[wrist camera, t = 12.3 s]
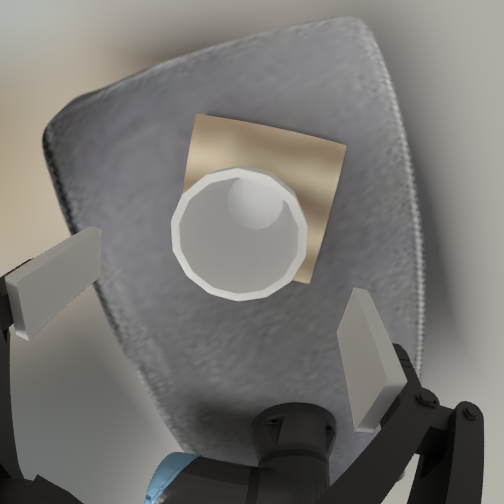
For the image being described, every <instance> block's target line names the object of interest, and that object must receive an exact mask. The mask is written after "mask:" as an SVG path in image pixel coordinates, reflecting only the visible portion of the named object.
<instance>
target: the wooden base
mask: <svg viewBox="0 0 504 504" xmlns="http://www.w3.org/2000/svg"><path fill="white" fill-rule="evenodd" d="M346 148H347V145H344V144H340V143H336V142H333V141H329V140H325V139H321V138H317V137H313V136H309V135H305V134H301V133H297V132H293V131H288V130H284V129H279V128H275V127H270V126H265V125H260V124H255V123H250V122H244V121H239V120H233V119H227V118H221V117H215V116H208V115H201V114H196V116H195V121H194V127H193V132H192V137H191V143H190V149H189V154H188V160H187V166H186V173H185V179H184V185H183V192H182V194H184V193H185V192H186V191H187V190H188V189H190V188H191V187H192V186H193V185H194V184H195V183H197V182H198V181H199V180H200V179H202V178H203V177H204V176H205V175H207V174H209V173H211V172H213V171H216V170H221V169H225V168H230V167H234V166H239V165H245V166H249V167H253V168H257V169H261V170H265V171H269V172H272V173H273V174H274V175H275V176H277V177H278V178H279V179H280V180H281V181H283V182H284V183H285V184H286V185H287V186H289V187H290V188H291V189H292V190H293V191H294V192H295V194H296V196H297V199H298V201H299V203H300V206H301V208H302V210H303V213H304V215H305V217H306V221H307V226H308V231H307V245H306V257H305V259H304V261H303V262H302V264H301V266H300V267H299V269H298V270H297V272H296V274H295V275H294V277H293V279H292V280H294V281H299V282H303V283H308V284H309V283H310V280H311V277H312V273H313V270H314V267H315V263H316V260H317V257H318V253H319V250H320V246H321V243H322V239H323V236H324V232H325V229H326V225H327V222H328V218H329V214H330V211H331V207H332V203H333V199H334V196H335V192H336V188H337V184H338V180H339V176H340V172H341V168H342V164H343V160H344V156H345V152H346Z"/></svg>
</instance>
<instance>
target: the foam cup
mask: <svg viewBox="0 0 504 504" xmlns="http://www.w3.org/2000/svg"><path fill="white" fill-rule="evenodd" d="M171 231H172V246H173V252H174V254H175V255H176V257H177V259H178V261H179V263H180V265H181V266H182V268H183V270H184V272H185V274H186V275H187V276H188V277H189V278H190V279H191V280H193V281H194V282H195V283H196V284H198V285H199V286H200V287H202V288H203V289H204V290H206V291H207V292H208V293H209V294H213V295H216V296H220V297H223V298H227V299H231V300H235V301H244V300H251V299H258V298H265V297H268V296H269V295H271V294H272V293H274V292H275V291H277V290H279V289H280V288H282V287H283V286H285V285H286V284H288V283H290V282H291V280H292V279H293V277H294V275H295V274H296V272H297V270H298V269H299V267H300V266H301V264H302V262H303V261H304V259H305V257H306V245H307V231H308V226H307V221H306V217H305V215H304V213H303V210H302V208H301V206H300V203H299V201H298V199H297V196H296V194H295V192H294V191H293V190H292V189H291V188H290V187H289V186H287V185H286V184H285V183H284V182H283V181H281V180H280V179H279V178H278V177H277V176H275V175H274V174H273V173H272V172H269V171H265V170H261V169H257V168H253V167H249V166H245V165H239V166H234V167H230V168H225V169H221V170H216V171H213V172H211V173H209V174H207V175H205V176H204V177H203V178H202V179H200V180H199V181H198V182H197V183H195V184H194V185H193V186H192V187H191V188H190V189H188V190H187V191H186V192H185V193H184V194H182V196H181V199H180V201H179V203H178V206H177V208H176V211H175V213H174V215H173V218H172V220H171Z"/></svg>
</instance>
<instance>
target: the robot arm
mask: <svg viewBox="0 0 504 504" xmlns="http://www.w3.org/2000/svg"><path fill="white" fill-rule="evenodd" d="M101 236H102V229H100V228H96V227H92V226H90V227H88V228H86V229H84V230H82V231H80V232H79V233H77V234H75V235H73V236H71V237H70V238H68V239H66V240H64V241H63V242H61V243H59V244H57V245H56V246H54V247H52V248H50V249H49V250H47V251H45V252H44V253H42V254H40V255H39V256H37V257H35V258H33V259H29V260H27V261H26V262H24V263H22V264H21V265H19V266H18V267H16V268H15V269H13V270H11V271H10V272H8V273H6V274H5V275H3V276H2V277H0V504H83V503H82V502H81V501H79V500H78V499H77V498H76V497H74V496H73V495H72V494H71V493H69V492H68V491H66V490H64V489H62V488H60V487H59V486H57V485H55V484H53V483H51V482H49V481H48V480H46V479H44V478H43V477H41V476H39V475H37V476H36V478H35V479H34V481H32V480H27V479H24V477H23V475H22V472H21V470H20V468H19V464H18V459H17V452H16V446H15V439H14V431H13V421H12V412H11V411H12V410H11V396H10V364H9V363H10V331H9V327H10V326H11V325H12V324H13V323H14V327H15V331H16V335H18V336H20V337H22V338H24V339H26V340H28V341H29V340H30V339H31V338H32V337H33V336H34V335H35V334H36V333H38V332H39V331H40V330H41V329H42V328H43V327H44V326H45V325H46V324H47V323H48V322H49V321H50V320H51V319H53V318H54V317H55V316H56V315H57V314H58V313H59V312H60V311H61V310H62V309H63V308H65V307H66V306H67V305H68V304H69V303H70V302H71V301H72V300H73V299H75V298H76V297H77V296H78V295H79V294H80V293H81V292H83V291H84V290H85V289H86V288H87V287H88V286H90V285H91V284H92V283H93V282H94V281H95V280H97V279H98V278H99V277H100V276H101ZM336 334H337V338H338V343H339V348H340V353H341V358H342V363H343V368H344V374H345V379H346V384H347V390H348V395H349V401H350V407H351V413H352V419H353V425H354V431H357V432H373V431H374V430H375V429H376V427H377V426H378V424H379V423H380V425H381V430H380V432H379V433H378V434H377V435H376V437H375V438H374V439H373V440H372V442H371V443H370V444H369V445H368V446H367V447H366V449H365V450H364V451H363V452H362V453H361V454H360V456H359V457H358V458H357V459H356V460H355V461H354V462H353V463H352V465H351V466H350V467H349V468H348V469H347V470H346V471H345V472H344V473H343V474H342V475H341V476H340V477H339V478H338V479H337V480H336V481H335V483H334V484H333V485H332V486H331V487H330V476H329V457H330V454H331V451H332V448H333V445H334V442H335V439H336V423H335V420H334V418H333V416H332V415H331V414H330V413H329V412H327V411H326V410H324V409H322V408H320V407H317V406H314V405H310V404H302V403H291V404H283V405H278V406H275V407H272V408H269V409H267V410H265V411H264V412H262V413H261V414H260V415H259V416H258V417H257V418H256V419H255V421H254V423H253V429H252V440H253V444H254V447H255V451H256V454H257V458H258V467H254V466H248V465H242V464H236V463H230V462H225V461H220V460H215V459H210V458H206V457H202V456H201V455H192V454H187V453H182V452H174V453H171V454H169V455H167V456H166V457H165V458H164V459H163V461H162V462H161V463H160V465H159V466H158V468H157V469H156V471H155V473H154V475H153V477H152V479H151V482H150V484H149V486H148V489H147V495H146V498H145V501H144V504H381V503H382V501H383V500H384V498H385V497H386V496H387V494H388V493H389V491H390V490H391V489H392V487H393V486H394V484H395V483H396V481H397V480H398V478H399V477H400V475H401V474H402V472H403V471H404V469H405V468H406V466H407V465H408V463H409V461H410V460H411V458H412V456H413V455H414V453H415V454H419V455H420V457H419V461H418V465H417V469H416V474H415V477H414V481H413V485H412V488H411V491H410V495H409V498H408V501H407V504H481V497H482V487H483V470H484V418H483V414H482V412H481V411H480V409H479V408H478V407H477V406H476V405H475V404H472V403H471V402H467V401H462V402H460V403H459V404H458V405H457V406H456V407H455V409H450V408H447V407H444V406H441V405H439V404H440V403H439V400H438V398H437V397H436V396H435V394H434V393H432V392H431V391H430V390H428V389H425V388H422V386H421V384H420V382H419V379H418V377H417V375H416V372H415V370H414V368H413V366H412V363H411V362H410V359H409V357H408V354H407V352H406V351H405V350H404V349H403V348H402V347H401V346H400V345H399V344H394V343H391V340H390V338H389V336H388V333H387V331H386V329H385V327H384V324H383V322H382V320H381V318H380V315H379V313H378V311H377V309H376V307H375V304H374V302H373V300H372V298H371V296H370V294H369V292H368V290H365V289H360V288H356V287H354V288H353V291H352V293H351V296H350V299H349V301H348V304H347V307H346V309H345V312H344V314H343V317H342V320H341V322H340V325H339V327H338V330H337V332H336Z"/></svg>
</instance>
